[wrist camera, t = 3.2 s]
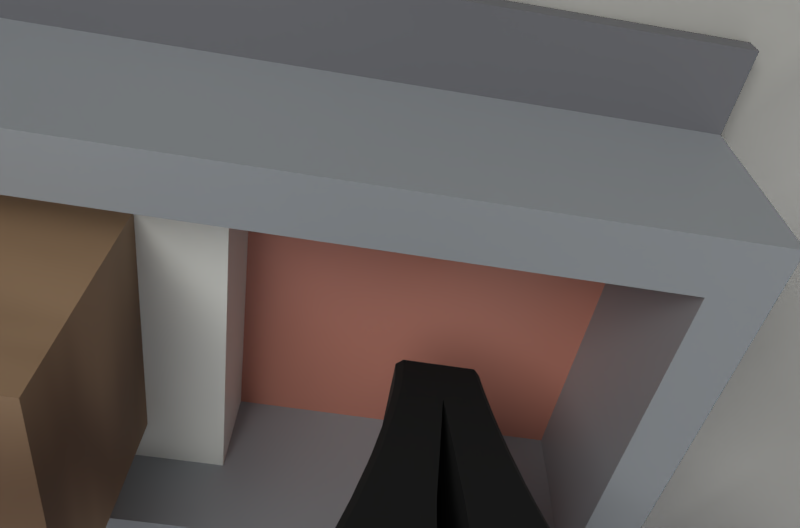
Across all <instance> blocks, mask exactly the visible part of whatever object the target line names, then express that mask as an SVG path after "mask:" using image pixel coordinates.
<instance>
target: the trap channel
mask: <svg viewBox="0 0 800 528" xmlns="http://www.w3.org/2000/svg"><path fill="white" fill-rule="evenodd" d="M758 53H759V51H758V50H757V49H756V48H755V47H754V46H753V45H752V44H751V43H749V42H743V41H738V40H732V39H726V38H720V37H714V36H709V35H703V34H697V33H691V32H685V31H680V30H674V29H668V28H662V27H656V26H651V25H645V24H639V23H633V22H627V21H622V20H616V19H610V18H604V17H598V16H593V15H587V14H581V13H575V12H569V11H564V10H558V9H552V8H546V7H540V6H535V5H529V4H523V3H517V2H511V1H506V0H0V195H6V196H13V197H20V198H26V199H33V200H40V201H47V202H54V203H61V204H67V205H74V206H81V207H88V208H95V209H102V210H108V211H115V212H122V213H129V214H134V228H135V243H136V258H137V273H138V288H139V302H140V317H141V332H142V347H143V362H144V377H145V392H146V407H147V422H148V424H147V427H146V429H145V432H144V434H143V437H142V439H141V442H140V444H139V447H138V449H137V452H136V454H135V456H134V459H133V461H132V464H131V466H130V469H129V471H128V474H127V476H126V479H125V481H124V484H123V486H122V489H121V491H120V494H119V496H118V499H117V501H116V504H115V506H114V509H113V511H112V513H111V516H110V518H109V521H108V523H107V526H106V528H335V527H336V525H337V523H338V521H339V520H340V518H341V516H342V514H343V512H344V510H345V508H346V506H347V505H348V503H349V501H350V499H351V497H352V495H353V492H354V490H355V488H356V486H357V484H358V482H359V480H360V478H361V476H362V473H363V471H364V469H365V467H366V465H367V463H368V461H369V458H370V456H371V454H372V451H373V449H374V446H375V443H376V441H377V438H378V436H379V433H380V430H381V428H382V425H383V420H384V415H385V411H386V406H387V401H388V397H389V392H390V387H391V383H392V378H393V374H394V369H395V364H396V363H398V362H400V361H402V360H409V361H417V362H424V363H431V364H439V365H446V366H453V367H460V368H468V369H474V370H475V371H476V372H477V374H478V375H479V377H480V380H481V383H482V386H483V389H484V392H485V394H486V397H487V400H488V402H489V405H490V407H491V410H492V412H493V415H494V417H495V419H496V422H497V424H498V426H499V429H500V431H501V433H502V436H503V438H504V440H505V442H506V444H507V446H508V449H509V451H510V453H511V455H512V457H513V459H514V461H515V463H516V465H517V467H518V469H519V471H520V473H521V475H522V477H523V479H524V481H525V483H526V485H527V487H528V489H529V491H530V493H531V495H532V497H533V498H534V500H535V502H536V504H537V506H538V507H539V509H540V511H541V513H542V515H543V516H544V518H545V520H546V522H547V523H548V525H549V527H550V528H641V527H642V525H643V524H644V522H645V520H646V519H647V517H648V515H649V514H650V512H651V510H652V509H653V507H654V505H655V503H656V502H657V500H658V498H659V497H660V495H661V493H662V492H663V490H664V488H665V487H666V485H667V483H668V482H669V480H670V478H671V477H672V475H673V473H674V472H675V470H676V468H677V467H678V465H679V463H680V462H681V460H682V458H683V457H684V455H685V453H686V451H687V450H688V448H689V446H690V445H691V443H692V441H693V440H694V438H695V436H696V435H697V433H698V431H699V430H700V428H701V426H702V425H703V423H704V421H705V420H706V418H707V416H708V415H709V413H710V411H711V410H712V408H713V406H714V404H715V403H716V401H717V399H718V398H719V396H720V394H721V393H722V391H723V389H724V388H725V386H726V384H727V383H728V381H729V379H730V378H731V376H732V374H733V373H734V371H735V369H736V368H737V366H738V364H739V363H740V361H741V359H742V358H743V356H744V354H745V352H746V351H747V349H748V347H749V346H750V344H751V342H752V341H753V339H754V337H755V336H756V334H757V332H758V331H759V329H760V327H761V326H762V324H763V322H764V321H765V319H766V317H767V316H768V314H769V312H770V311H771V309H772V307H773V305H774V304H775V302H776V300H777V299H778V297H779V295H780V294H781V292H782V290H783V289H784V287H785V285H786V284H787V282H788V280H789V279H790V277H791V275H792V274H793V272H794V270H795V269H796V267H797V265H798V264H799V262H800V242H799V240H798V239H797V238H796V236H795V235H794V234H793V232H792V231H791V230H790V228H789V227H788V226H787V224H786V223H785V222H784V220H783V219H782V217H781V216H780V215H779V213H778V212H777V211H776V209H775V208H774V207H773V205H772V204H771V203H770V201H769V200H768V198H767V197H766V196H765V194H764V193H763V192H762V190H761V189H760V188H759V186H758V185H757V184H756V182H755V181H754V180H753V178H752V177H751V175H750V174H749V173H748V171H747V170H746V169H745V167H744V166H743V165H742V163H741V162H740V161H739V159H738V158H737V157H736V155H735V154H734V152H733V151H732V150H731V148H730V147H729V146H728V144H727V143H726V142H725V140H724V139H723V138H722V136H721V133H722V131H723V129H724V127H725V124H726V122H727V120H728V118H729V116H730V114H731V111H732V109H733V107H734V105H735V103H736V100H737V98H738V96H739V94H740V92H741V90H742V87H743V85H744V83H745V81H746V79H747V76H748V74H749V72H750V70H751V68H752V66H753V63H754V61H755V59H756V57H757V55H758Z"/></svg>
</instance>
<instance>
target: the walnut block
mask: <svg viewBox="0 0 800 528" xmlns="http://www.w3.org/2000/svg"><path fill="white" fill-rule="evenodd" d="M147 424H148V422H147V407H146V392H145V377H144V362H143V347H142V332H141V317H140V302H139V288H138V273H137V258H136V243H135V228H134V214H129V213H122V212H115V211H108V210H102V209H95V208H88V207H81V206H74V205H67V204H61V203H54V202H47V201H40V200H33V199H26V198H20V197H13V196H6V195H0V528H106V526H107V523H108V521H109V518H110V516H111V513H112V511H113V509H114V506H115V504H116V501H117V499H118V496H119V494H120V491H121V489H122V486H123V484H124V481H125V479H126V476H127V474H128V471H129V469H130V466H131V464H132V461H133V459H134V456H135V454H136V452H137V449H138V447H139V444H140V442H141V439H142V437H143V434H144V432H145V429H146V427H147Z"/></svg>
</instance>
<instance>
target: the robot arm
mask: <svg viewBox="0 0 800 528" xmlns="http://www.w3.org/2000/svg"><path fill="white" fill-rule="evenodd" d="M335 528H550V527H549V525H548V523H547V522H546V520H545V518H544V516H543V515H542V513H541V511H540V509H539V507H538V506H537V504H536V502H535V500H534V498H533V497H532V495H531V493H530V491H529V489H528V487H527V485H526V483H525V481H524V479H523V477H522V475H521V473H520V471H519V469H518V467H517V465H516V463H515V461H514V459H513V457H512V455H511V453H510V451H509V449H508V446H507V444H506V442H505V440H504V438H503V436H502V433H501V431H500V429H499V426H498V424H497V422H496V419H495V417H494V415H493V412H492V410H491V407H490V405H489V402H488V400H487V397H486V394H485V392H484V389H483V386H482V383H481V380H480V377H479V375H478V374H477V372H476V371H475V370H474V369H468V368H460V367H453V366H446V365H439V364H431V363H424V362H417V361H409V360H402V361H400V362H398V363H396V364H395V369H394V374H393V378H392V383H391V387H390V392H389V397H388V401H387V406H386V411H385V415H384V420H383V425H382V428H381V430H380V433H379V436H378V438H377V441H376V443H375V446H374V449H373V451H372V454H371V456H370V458H369V461H368V463H367V465H366V467H365V469H364V471H363V473H362V476H361V478H360V480H359V482H358V484H357V486H356V488H355V490H354V492H353V495H352V497H351V499H350V501H349V503H348V505H347V506H346V508H345V510H344V512H343V514H342V516H341V518H340V520H339V521H338V523H337V525H336V527H335Z"/></svg>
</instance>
